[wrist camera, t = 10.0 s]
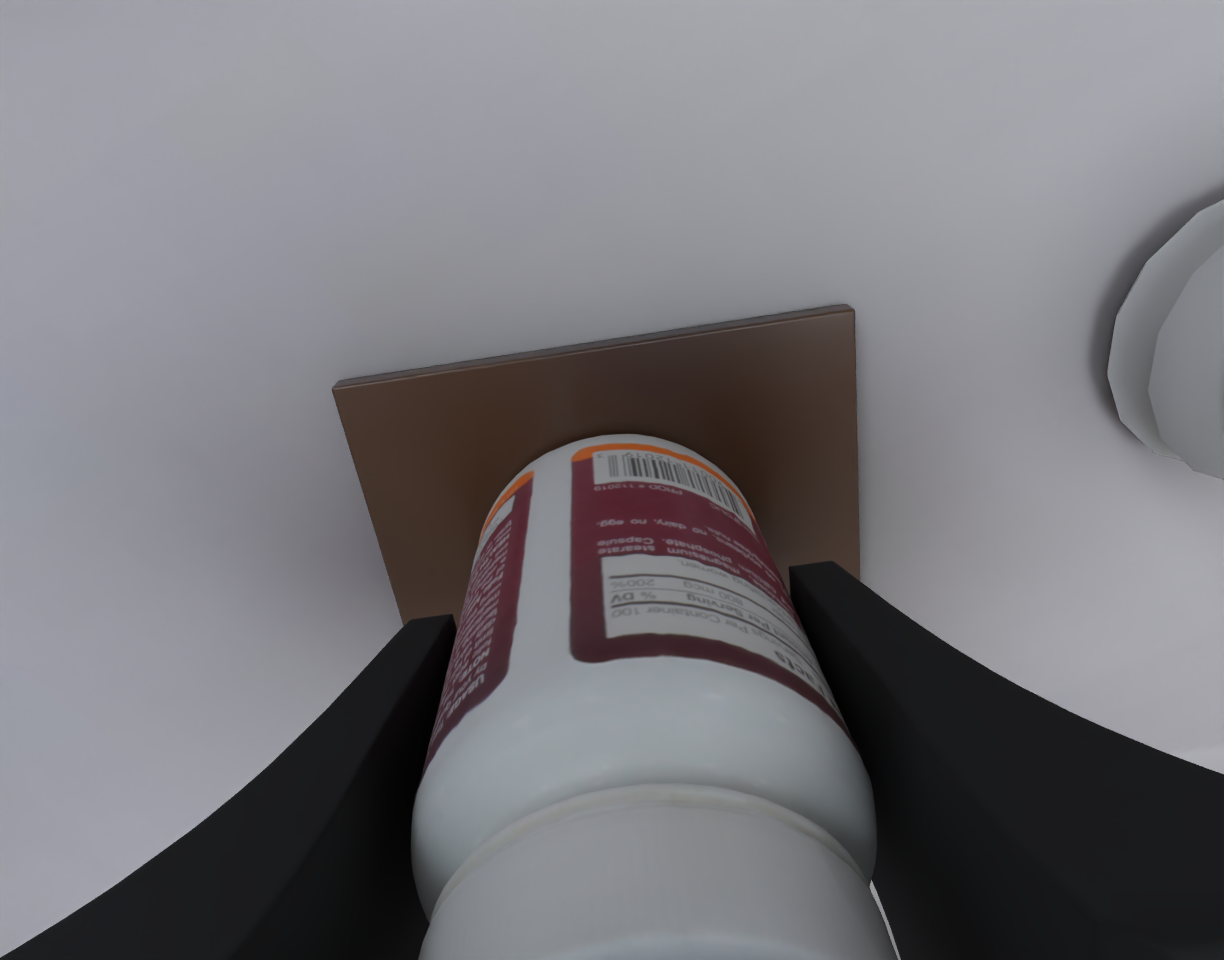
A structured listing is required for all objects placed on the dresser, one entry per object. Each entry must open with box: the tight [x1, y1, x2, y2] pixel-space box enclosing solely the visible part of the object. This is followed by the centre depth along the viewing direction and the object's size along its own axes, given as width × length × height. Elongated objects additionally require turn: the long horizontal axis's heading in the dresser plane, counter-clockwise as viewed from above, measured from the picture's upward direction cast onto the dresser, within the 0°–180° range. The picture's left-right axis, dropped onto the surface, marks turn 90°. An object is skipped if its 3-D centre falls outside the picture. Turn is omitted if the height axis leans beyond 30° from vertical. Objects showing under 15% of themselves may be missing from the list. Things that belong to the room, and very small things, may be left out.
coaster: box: [332, 304, 860, 629], centre depth 14 cm, size 8×8×1 cm
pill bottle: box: [411, 434, 898, 960], centre depth 10 cm, size 5×5×8 cm
